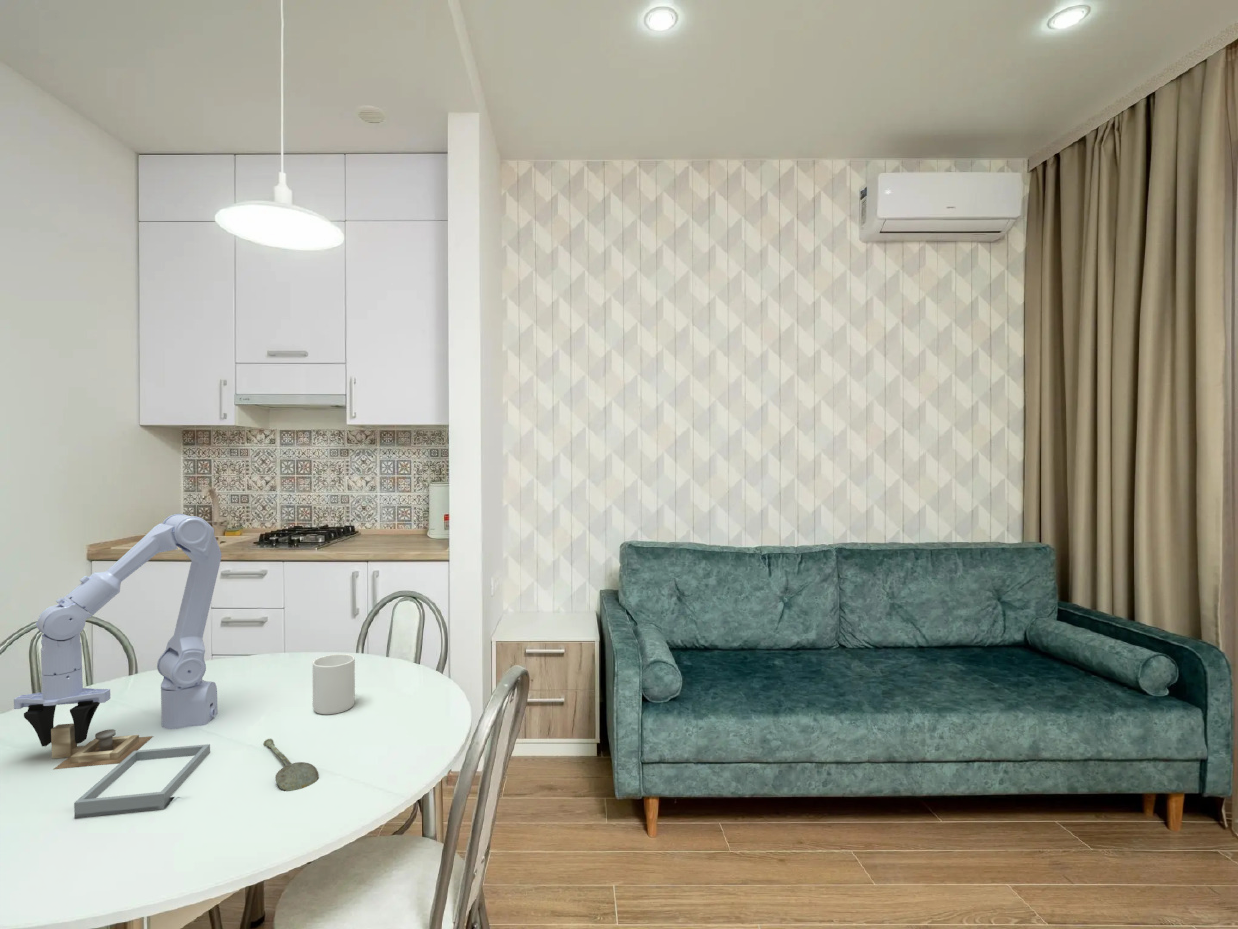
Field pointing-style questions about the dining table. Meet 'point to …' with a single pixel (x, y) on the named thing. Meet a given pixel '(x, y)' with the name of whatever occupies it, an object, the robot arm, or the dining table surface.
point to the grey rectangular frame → (138, 802)
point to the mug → (333, 683)
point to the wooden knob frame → (67, 746)
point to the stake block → (105, 745)
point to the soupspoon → (293, 772)
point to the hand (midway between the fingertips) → (64, 742)
